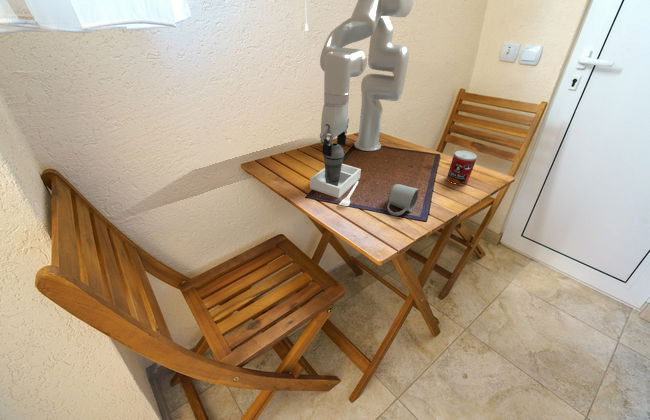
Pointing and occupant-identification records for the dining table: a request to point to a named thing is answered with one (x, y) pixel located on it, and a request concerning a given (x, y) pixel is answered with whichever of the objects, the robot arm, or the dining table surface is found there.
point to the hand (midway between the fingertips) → (334, 150)
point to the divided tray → (346, 180)
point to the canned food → (461, 167)
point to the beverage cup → (334, 164)
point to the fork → (347, 200)
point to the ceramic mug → (402, 198)
